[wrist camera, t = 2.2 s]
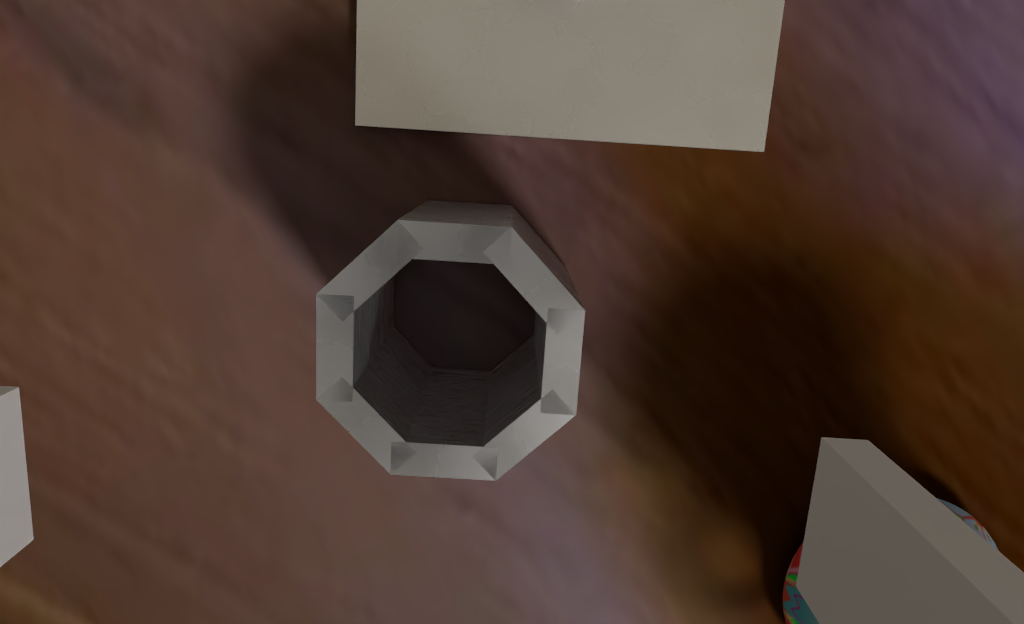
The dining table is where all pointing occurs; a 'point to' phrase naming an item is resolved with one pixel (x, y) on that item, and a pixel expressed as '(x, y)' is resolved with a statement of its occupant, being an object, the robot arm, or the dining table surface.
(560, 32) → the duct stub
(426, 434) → the grey hollow octagonal block
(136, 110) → the dining table surface
